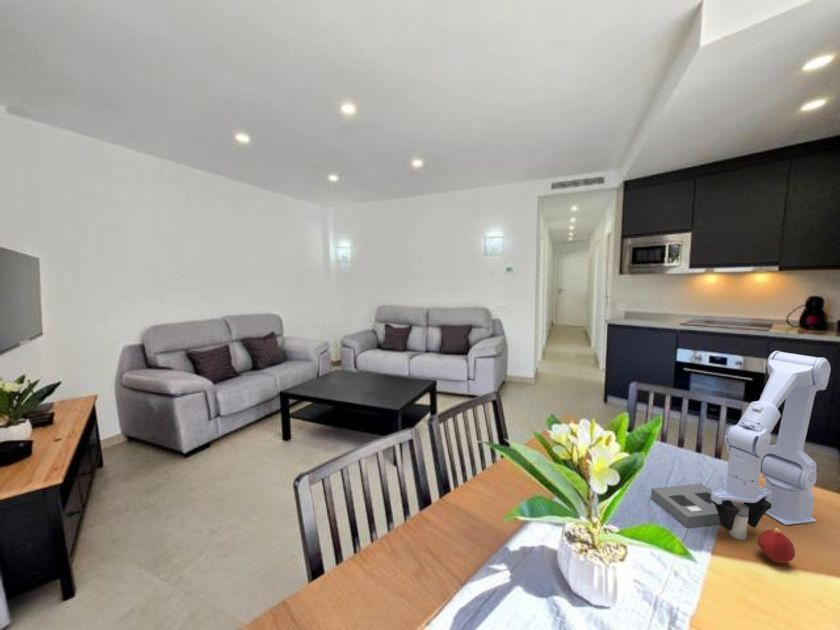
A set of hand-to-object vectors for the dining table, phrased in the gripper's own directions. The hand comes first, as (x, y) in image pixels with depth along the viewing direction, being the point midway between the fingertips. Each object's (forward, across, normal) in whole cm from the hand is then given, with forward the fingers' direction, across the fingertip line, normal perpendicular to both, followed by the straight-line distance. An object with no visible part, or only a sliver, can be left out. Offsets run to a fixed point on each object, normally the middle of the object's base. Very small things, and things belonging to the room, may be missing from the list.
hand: (738, 526), depth 86 cm
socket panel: (+2, +2, -10) cm, 10 cm away
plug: (+2, 0, 0) cm, 2 cm away
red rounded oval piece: (+3, 0, +8) cm, 8 cm away
